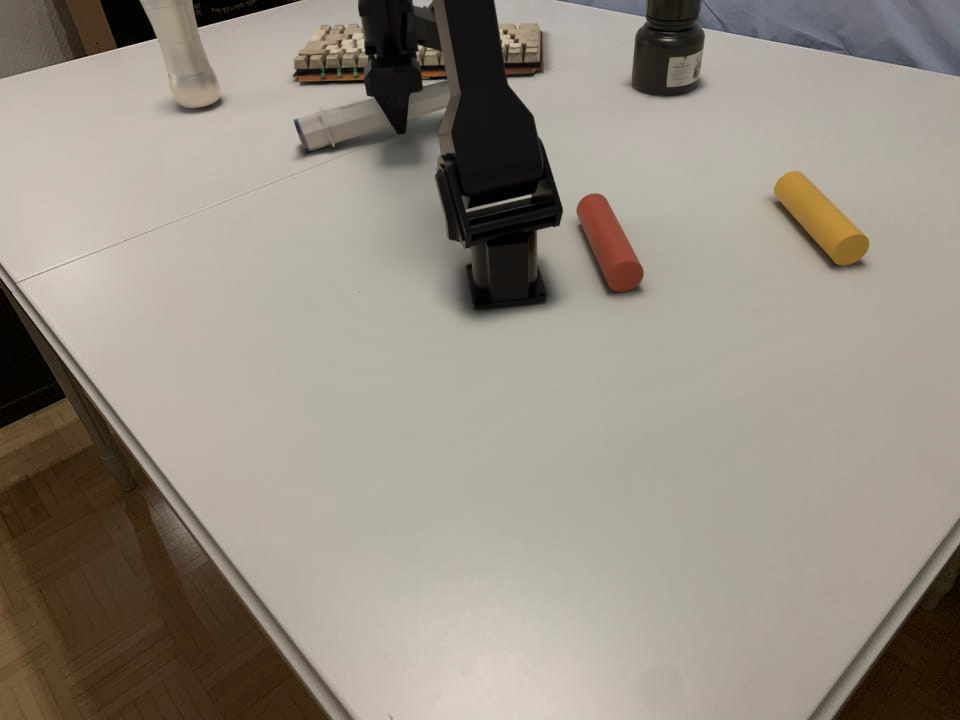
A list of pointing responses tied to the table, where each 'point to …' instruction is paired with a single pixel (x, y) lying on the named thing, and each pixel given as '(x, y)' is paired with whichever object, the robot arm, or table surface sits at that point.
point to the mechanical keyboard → (345, 53)
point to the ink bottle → (668, 47)
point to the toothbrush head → (363, 117)
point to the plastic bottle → (183, 52)
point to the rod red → (609, 243)
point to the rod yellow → (821, 218)
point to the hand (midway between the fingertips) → (401, 125)
